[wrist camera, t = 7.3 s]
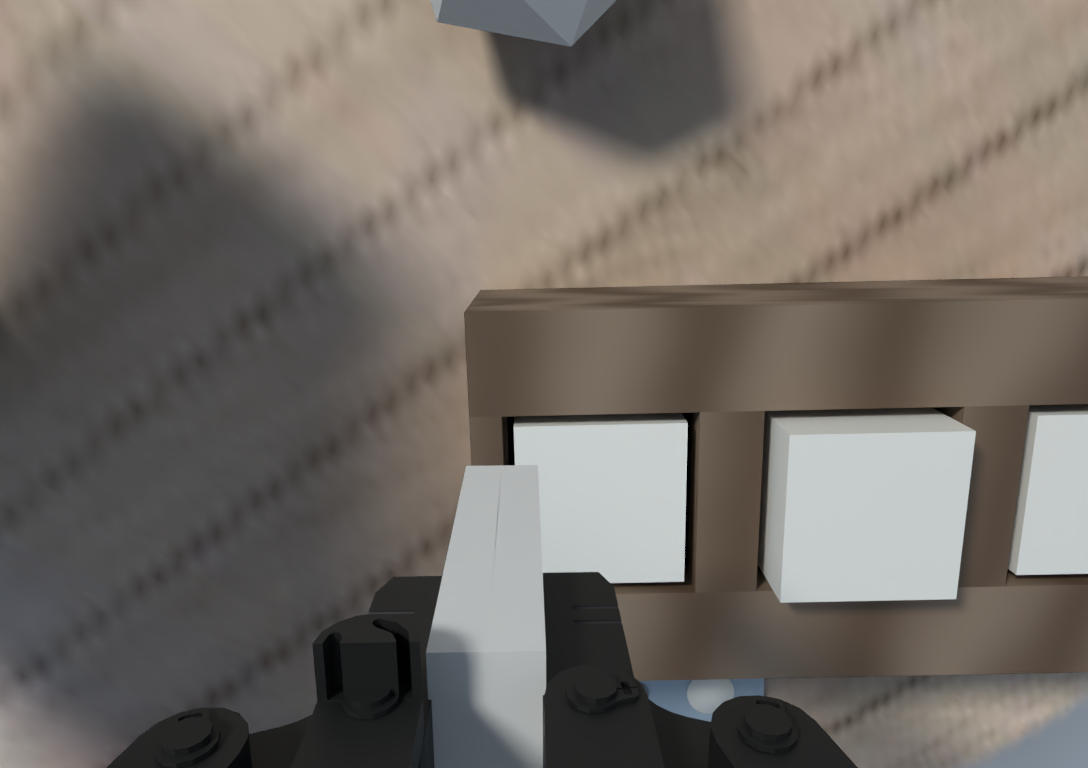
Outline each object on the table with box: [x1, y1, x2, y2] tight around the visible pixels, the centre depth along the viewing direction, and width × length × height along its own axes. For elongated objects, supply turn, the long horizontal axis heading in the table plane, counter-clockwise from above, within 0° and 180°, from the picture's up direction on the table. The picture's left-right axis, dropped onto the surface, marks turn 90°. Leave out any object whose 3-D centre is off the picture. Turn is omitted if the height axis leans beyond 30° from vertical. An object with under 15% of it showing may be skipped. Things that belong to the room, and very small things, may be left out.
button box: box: [464, 276, 1088, 681], centre depth 30 cm, size 27×14×6 cm, turn 91°
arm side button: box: [514, 413, 688, 583], centre depth 28 cm, size 6×6×3 cm
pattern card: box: [639, 678, 765, 722], centre depth 35 cm, size 12×7×1 cm, turn 91°
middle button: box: [757, 407, 976, 603], centre depth 26 cm, size 6×6×3 cm
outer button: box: [1008, 404, 1088, 575], centre depth 28 cm, size 6×6×3 cm
